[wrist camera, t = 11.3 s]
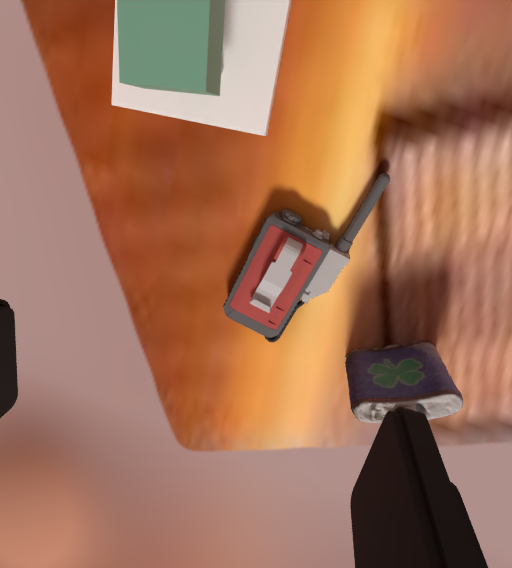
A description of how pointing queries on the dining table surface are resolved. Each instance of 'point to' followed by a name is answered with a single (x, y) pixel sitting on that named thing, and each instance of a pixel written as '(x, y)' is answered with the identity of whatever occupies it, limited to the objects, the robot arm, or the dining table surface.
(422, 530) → the robot arm
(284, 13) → the standoff plate
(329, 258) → the walkie-talkie
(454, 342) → the dining table surface
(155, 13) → the green boxy piece
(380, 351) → the flask
